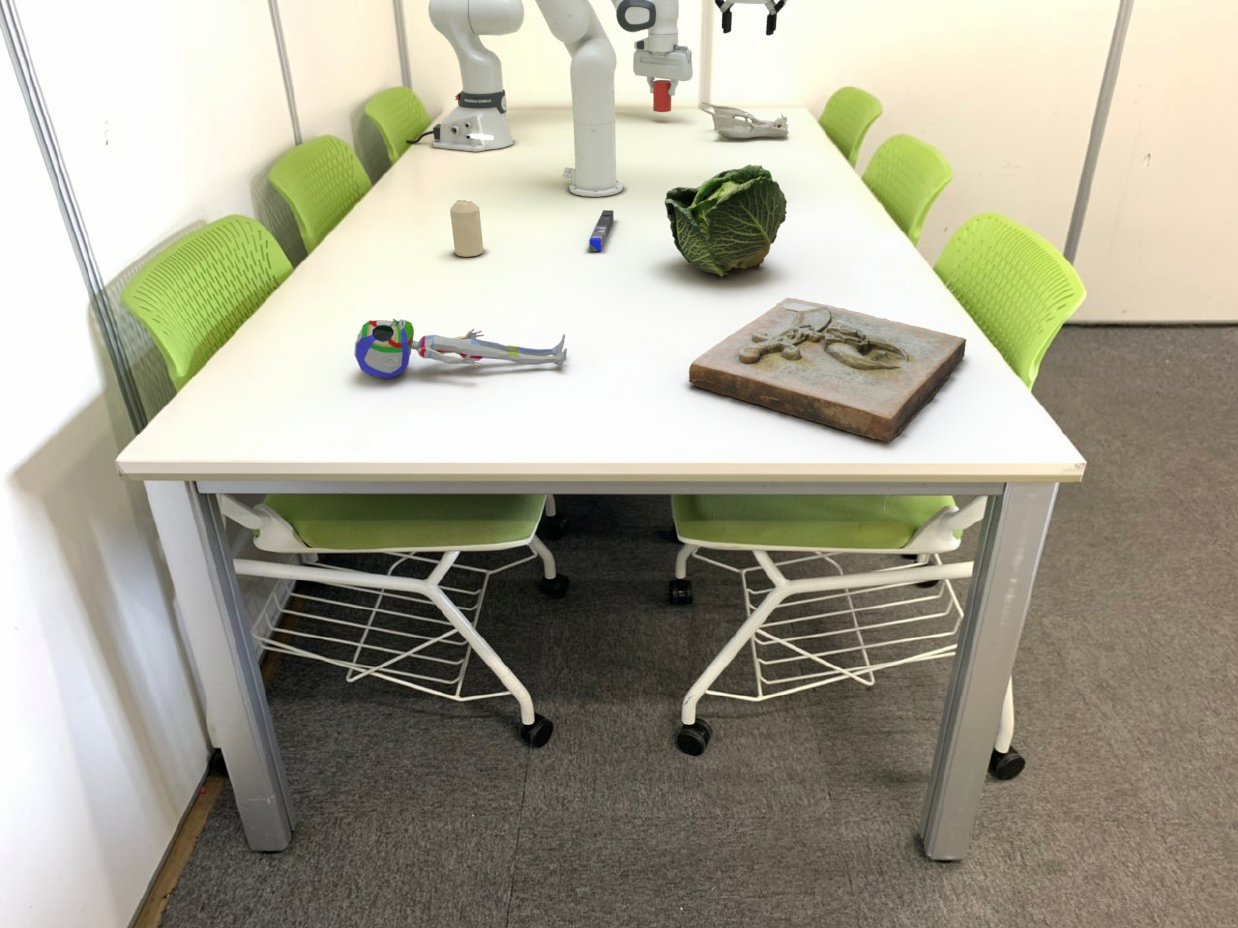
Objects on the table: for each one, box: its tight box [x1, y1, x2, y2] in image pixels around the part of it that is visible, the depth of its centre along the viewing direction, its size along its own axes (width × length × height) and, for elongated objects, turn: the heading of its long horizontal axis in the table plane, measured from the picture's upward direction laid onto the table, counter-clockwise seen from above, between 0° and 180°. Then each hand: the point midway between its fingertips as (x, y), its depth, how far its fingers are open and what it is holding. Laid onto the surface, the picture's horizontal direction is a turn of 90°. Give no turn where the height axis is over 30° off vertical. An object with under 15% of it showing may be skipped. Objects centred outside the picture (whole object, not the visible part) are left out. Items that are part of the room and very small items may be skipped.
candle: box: [449, 199, 484, 258], centre depth 172 cm, size 6×6×10 cm
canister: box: [652, 79, 672, 113], centre depth 271 cm, size 5×5×8 cm
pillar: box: [588, 209, 615, 252], centre depth 182 cm, size 2×2×20 cm
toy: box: [353, 318, 568, 379], centre depth 130 cm, size 10×8×30 cm
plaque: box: [688, 297, 967, 444], centre depth 127 cm, size 30×7×30 cm
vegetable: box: [664, 164, 788, 278], centre depth 161 cm, size 20×19×20 cm
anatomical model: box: [700, 101, 789, 140], centre depth 253 cm, size 15×9×25 cm
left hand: (662, 94), depth 271 cm, fingers closed on canister, 5 cm apart
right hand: (748, 33), depth 192 cm, fingers open, 9 cm apart
